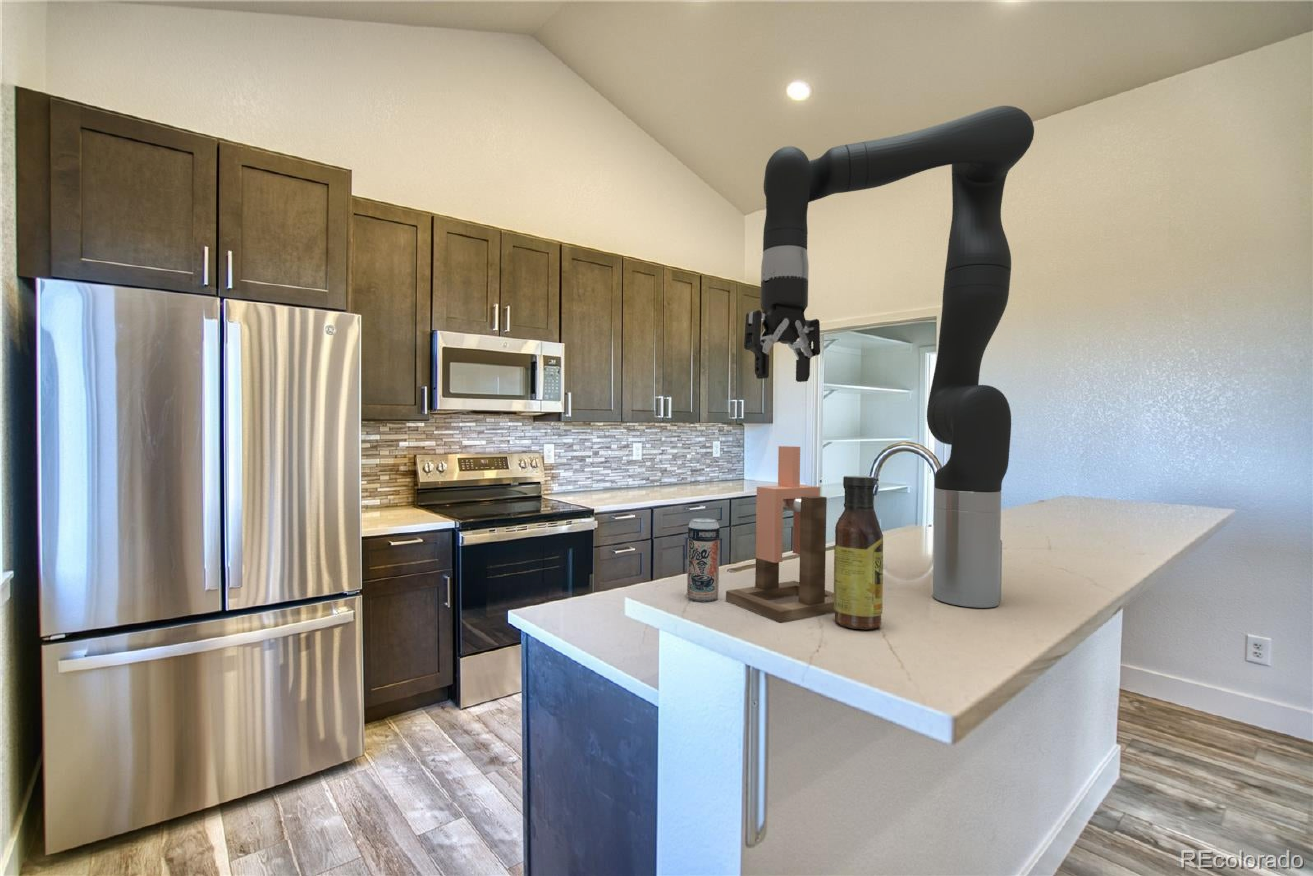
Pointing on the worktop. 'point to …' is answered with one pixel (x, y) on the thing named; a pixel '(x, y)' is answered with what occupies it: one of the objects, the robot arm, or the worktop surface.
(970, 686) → the worktop surface
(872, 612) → the sauce bottle
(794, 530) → the orange arch with tab
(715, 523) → the beer can
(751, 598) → the brown wooden post stand
